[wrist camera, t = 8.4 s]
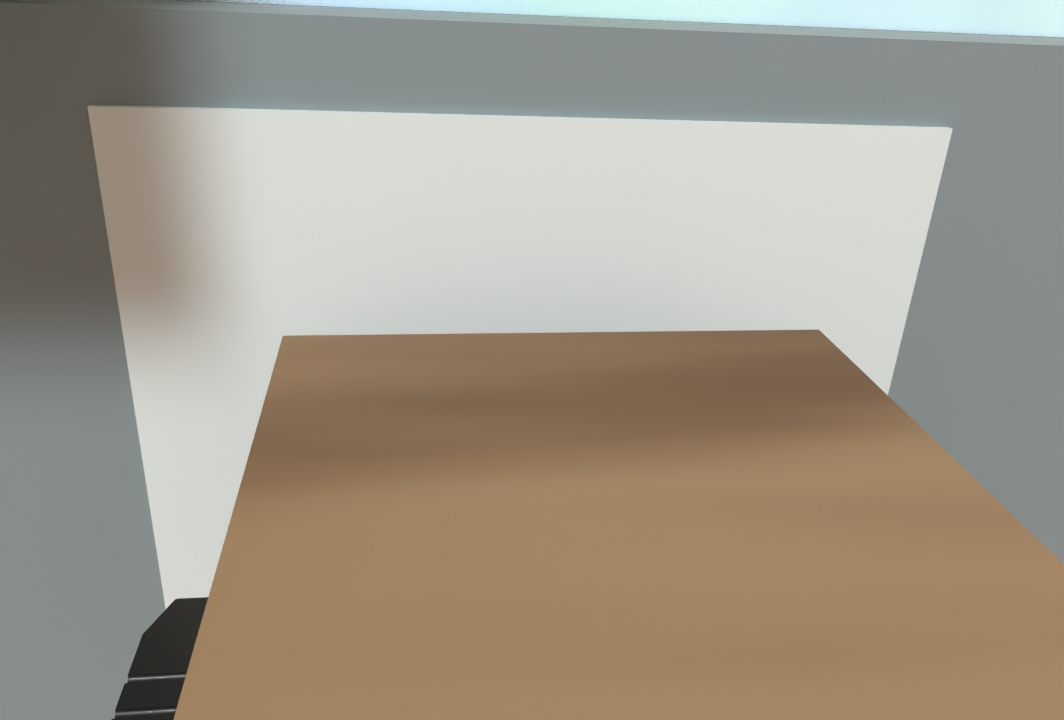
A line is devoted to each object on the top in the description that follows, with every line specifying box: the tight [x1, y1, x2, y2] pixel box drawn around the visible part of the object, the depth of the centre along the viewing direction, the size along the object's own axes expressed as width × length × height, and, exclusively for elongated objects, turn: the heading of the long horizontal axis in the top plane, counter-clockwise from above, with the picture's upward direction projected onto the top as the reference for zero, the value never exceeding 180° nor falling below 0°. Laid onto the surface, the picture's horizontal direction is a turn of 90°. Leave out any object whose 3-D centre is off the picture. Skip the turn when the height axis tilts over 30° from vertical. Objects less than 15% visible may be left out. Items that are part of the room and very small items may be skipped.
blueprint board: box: [0, 0, 1064, 720], centre depth 13 cm, size 12×24×2 cm, turn 87°
